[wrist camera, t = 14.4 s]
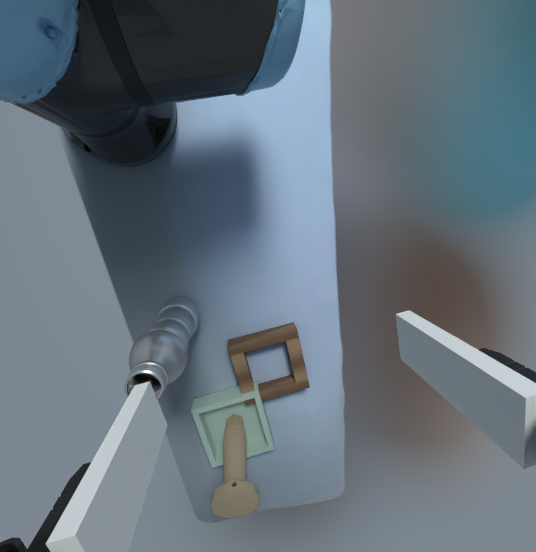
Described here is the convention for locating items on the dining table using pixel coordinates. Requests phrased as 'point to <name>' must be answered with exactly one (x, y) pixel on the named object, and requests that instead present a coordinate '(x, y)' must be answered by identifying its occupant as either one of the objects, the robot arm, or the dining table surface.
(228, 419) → the handle
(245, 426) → the tray
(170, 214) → the dining table surface
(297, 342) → the brown wooden frame
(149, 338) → the plastic bottle
